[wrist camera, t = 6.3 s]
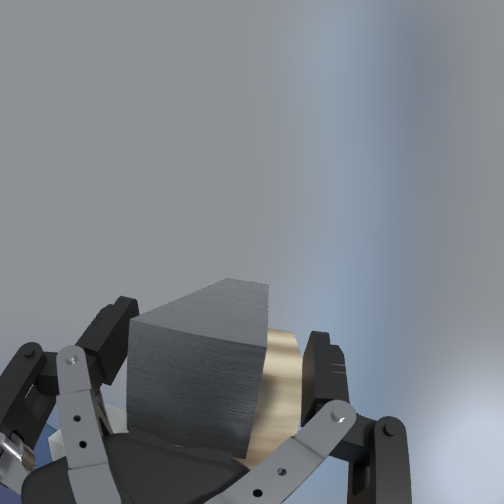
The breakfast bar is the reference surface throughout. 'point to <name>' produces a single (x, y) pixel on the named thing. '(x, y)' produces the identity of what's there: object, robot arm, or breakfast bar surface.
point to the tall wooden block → (276, 398)
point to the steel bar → (199, 366)
